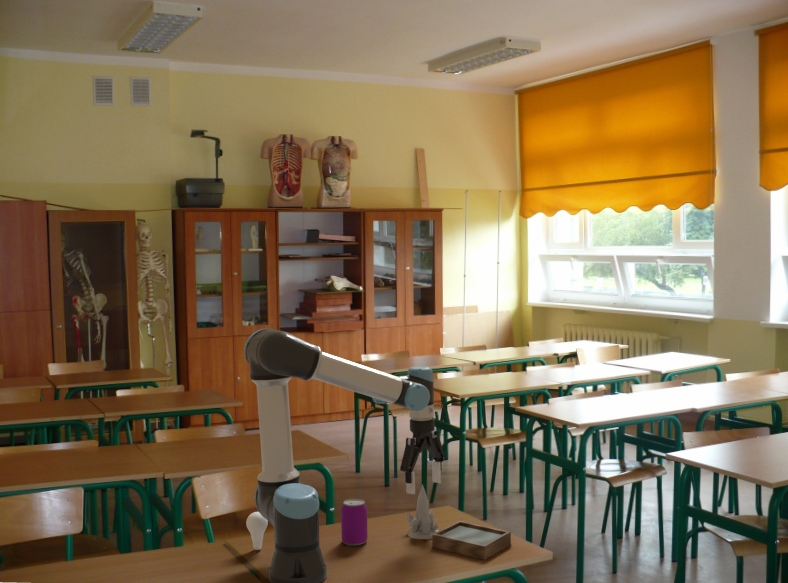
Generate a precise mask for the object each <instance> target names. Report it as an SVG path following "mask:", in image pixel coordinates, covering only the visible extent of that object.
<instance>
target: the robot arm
mask: <svg viewBox="0 0 788 583" xmlns="http://www.w3.org/2000/svg"><path fill="white" fill-rule="evenodd" d="M243 349H244V350H243V352H244V358H245V360H246V362H247V364H248V365H249V374H250V376H249V377H250V381H251V382H252V383H254V385H255V386H256V395H257V396H256V398H257V409H258V410H257V412H258V427H259V440H260V453H261V454H260V455H261V469H262V470H261V471H260V472H259V474H258V475H257V477H256V478H257V487H256V489H255V492H254V503H255V507H256V509H257V512H259V513H260V514H261V515H262V516H263V517H264V518H265V519H266V520H268V523H270V524H271V525H272V526H273V528H274V552H273V555H272V559H271V563H270V566H269V570H268V582H270V583H322V582H323V581H325V580H326V578H327V576H328V574H327V573H328V572H327V570H328V569H327V565H326V562H325V560H324V556H323V554H322V550H321V546H320V500H319V493H318V491H317V490H316V489H315V488H314V487H313V486H311V485H309V484H304V483H301V477H300V476H301V475H300V471H298V470H297V468H295V467H294V456H293V454H294V452H293V439H292V438H293V437H292V426H291V408H290V396H289V395H290V394H289V382H290V381H291V380H292V378H297V379H300V380H304V381H306V382H307V381H310V380H312V379H313V380H317V381H318V382H319V381H320V382H323V383H326V384H328V385H332V386H335V387H338V388H341V389H345V390H347V391H351V392H354V393H357V394H361V395H365V396H367V397H370V398H371V399H372V401H373V403H375V404H379V405H380V404H384V405H386V404H392V405H396V406H399V407H402V408H405V409H407V410H408V415H409V416H408V417H409V418H410V419H409V431H410V432H411V433H412V437H405V446H404V451H403V454H402V458H401V463H400V469H399V470H400V472H404V476H405V477H404V478H405V492H406V493H405V494H410V495H415V494H416V480H415V479H416V477H415V476H416V475H415V474H416V473H415V471H414V469H415V466H416V464H417V461H418V458H419V457H420V454H421V453H422V452H423V451H424V450H427V452H428V454H429V455H430V456H431V458H432V459H433V460H432V461H431V477H432V479H431V480H432V481H431V482H432V483H437V484H441V483H442V475H441V474H442V473H441V470H442V465H441V464H442V462H444V461H445V457H446V453H445V451H444V448H443V445H442V442H441V439H440V436H439V430H436V429H435V426H436V425H435V419H434V417H435V403H434V402H435V400H434V399H435V398H434V397H435V394H434V388H435V386H434V381H435V380H434V372H433V369H432V368H431V367H430V366H423V365H422V366H421V365H419V366H412V367H411V366H410V367H409V368H408V370H407V374H405V375H397V376H396V375H393V374H390V373H387V372H385V371H382V370H379V369H375V368H372V367H370V366H366V365H363V364H360V363H358V362H355V361H352V360H348V359H345V358H343V357H339V356H336V355H333V354H331V353H327V352H324V351H322V350H321V347H320V346H318V345H315V344H313V343H311V342H308V341H306V340H303V339H302V338H300V337H297V336H296V335H294V334H291V333H289V332H287V331H283V330H278V329H276V328H267V327H266V328H261V329H258V330H256V331H255V332H253V333H251V335H249V337H248V338H247V339H246V341H245V344H244V347H243Z"/></svg>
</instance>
